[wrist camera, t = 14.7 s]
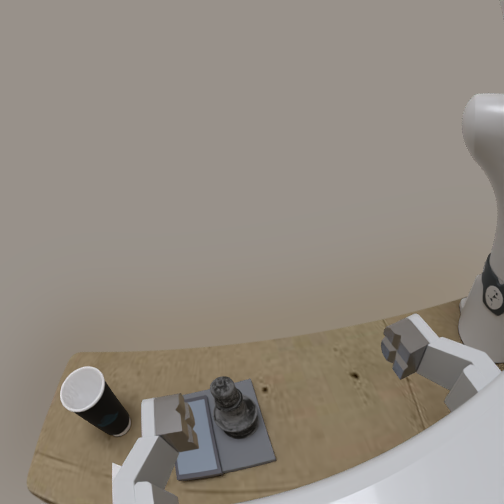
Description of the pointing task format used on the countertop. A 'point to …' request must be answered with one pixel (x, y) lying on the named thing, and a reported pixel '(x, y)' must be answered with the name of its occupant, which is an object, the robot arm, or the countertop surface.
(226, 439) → the mat
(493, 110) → the robot arm
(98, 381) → the dixie cup
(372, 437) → the countertop surface
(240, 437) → the stone finial ornament
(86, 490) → the countertop surface
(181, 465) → the phone
